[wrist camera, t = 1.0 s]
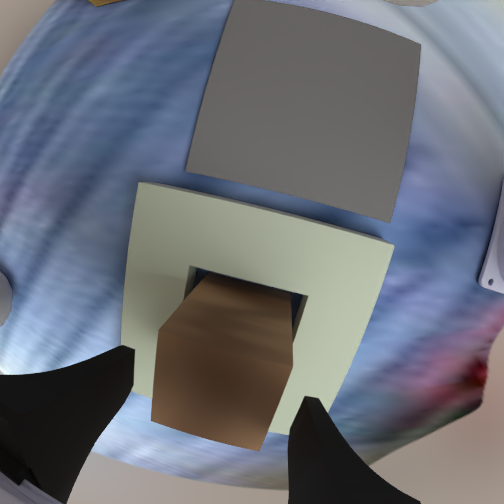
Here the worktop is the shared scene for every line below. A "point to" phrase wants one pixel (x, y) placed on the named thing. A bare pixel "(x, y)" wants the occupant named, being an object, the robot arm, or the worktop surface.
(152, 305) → the pocket holder
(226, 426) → the walnut block
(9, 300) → the donut
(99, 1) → the candy box
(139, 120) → the worktop surface
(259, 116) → the rubber mat
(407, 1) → the french press
